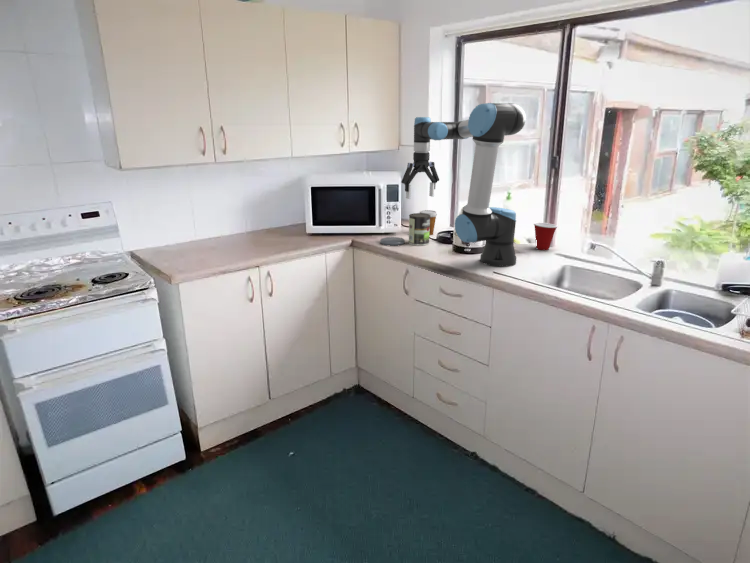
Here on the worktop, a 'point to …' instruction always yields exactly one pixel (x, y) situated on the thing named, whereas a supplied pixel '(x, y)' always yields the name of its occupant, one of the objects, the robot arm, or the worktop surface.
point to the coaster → (392, 241)
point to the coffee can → (419, 229)
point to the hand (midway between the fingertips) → (420, 197)
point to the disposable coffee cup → (431, 219)
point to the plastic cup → (544, 235)
